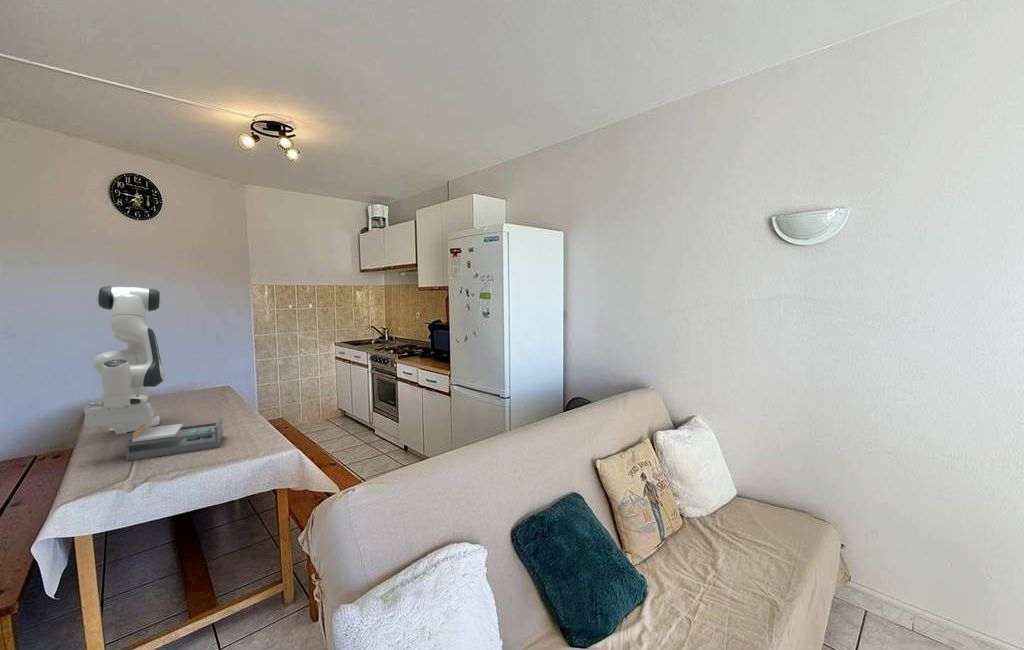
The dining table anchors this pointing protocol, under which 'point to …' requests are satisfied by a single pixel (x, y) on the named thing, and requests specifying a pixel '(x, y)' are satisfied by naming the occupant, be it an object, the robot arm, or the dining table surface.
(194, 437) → the teal rounded capsule
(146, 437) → the lid
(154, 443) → the housing
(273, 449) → the dining table surface
